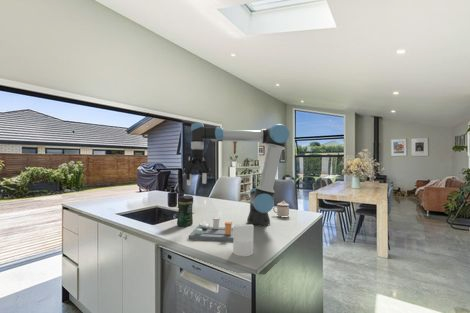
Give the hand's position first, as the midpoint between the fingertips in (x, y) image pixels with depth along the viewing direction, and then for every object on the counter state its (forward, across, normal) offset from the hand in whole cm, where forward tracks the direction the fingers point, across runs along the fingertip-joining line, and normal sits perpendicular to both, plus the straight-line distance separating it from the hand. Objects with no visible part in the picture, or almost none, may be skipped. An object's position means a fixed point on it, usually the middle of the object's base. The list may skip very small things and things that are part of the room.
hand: (197, 184), depth 143 cm
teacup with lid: (+28, -62, +28) cm, 74 cm away
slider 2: (+24, +4, +26) cm, 35 cm away
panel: (+27, +4, +16) cm, 31 cm away
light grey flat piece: (+22, +2, +8) cm, 24 cm away
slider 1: (+24, -1, +14) cm, 28 cm away
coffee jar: (+26, -1, -11) cm, 29 cm away
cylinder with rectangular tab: (+27, +15, +42) cm, 52 cm away
